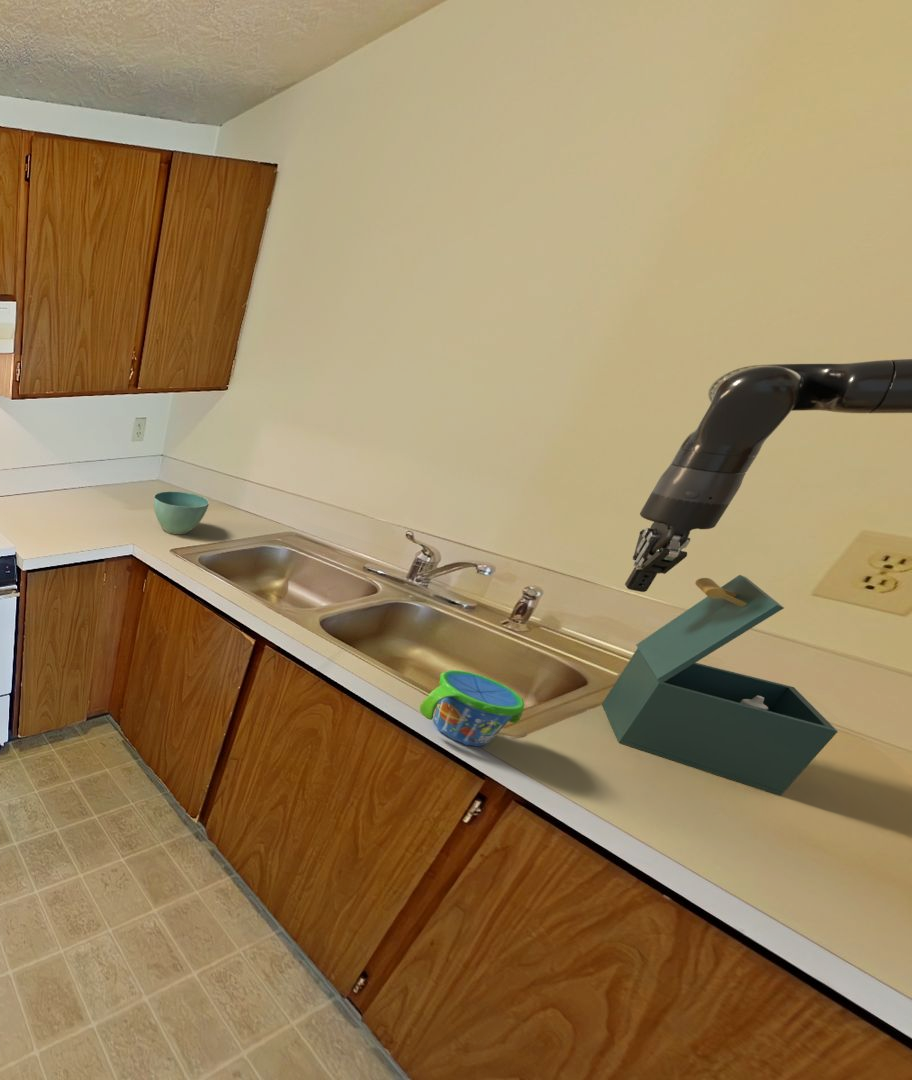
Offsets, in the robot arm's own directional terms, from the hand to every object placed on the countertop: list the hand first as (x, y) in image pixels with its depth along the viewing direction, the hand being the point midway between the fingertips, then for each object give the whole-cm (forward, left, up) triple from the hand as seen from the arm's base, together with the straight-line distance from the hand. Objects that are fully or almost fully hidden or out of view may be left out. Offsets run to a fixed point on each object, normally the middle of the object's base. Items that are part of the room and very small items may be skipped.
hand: (634, 589), depth 88 cm
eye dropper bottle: (-18, +2, -26) cm, 31 cm away
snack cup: (+18, +21, -27) cm, 38 cm away
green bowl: (+86, -54, -27) cm, 105 cm away
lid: (-9, +1, -5) cm, 10 cm away
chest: (-14, +1, -26) cm, 30 cm away
